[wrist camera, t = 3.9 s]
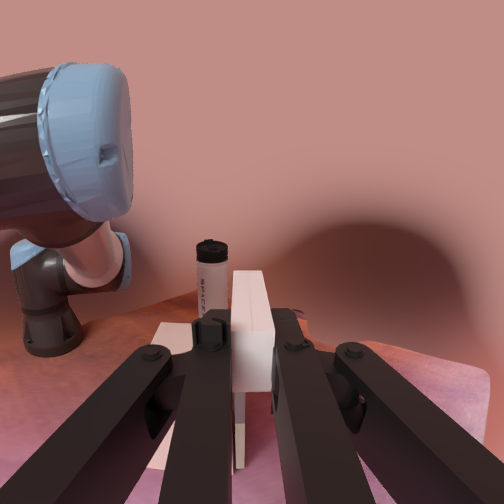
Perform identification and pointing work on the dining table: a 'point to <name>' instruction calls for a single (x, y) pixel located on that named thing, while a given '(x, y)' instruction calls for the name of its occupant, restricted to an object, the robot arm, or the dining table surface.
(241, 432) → the side door
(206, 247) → the travel mug
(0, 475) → the dining table surface
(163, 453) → the cream case
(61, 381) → the dining table surface
